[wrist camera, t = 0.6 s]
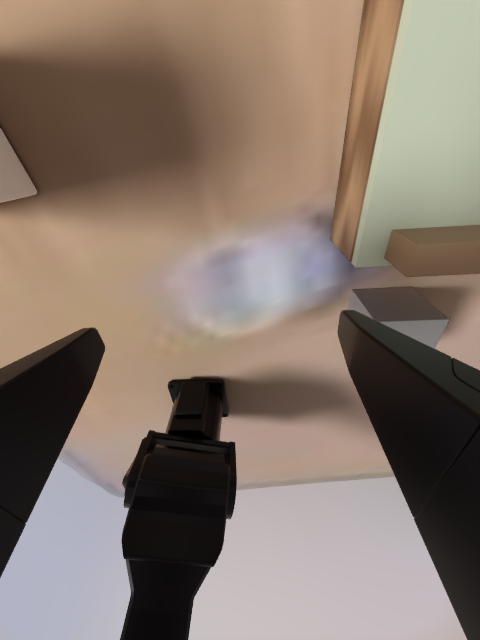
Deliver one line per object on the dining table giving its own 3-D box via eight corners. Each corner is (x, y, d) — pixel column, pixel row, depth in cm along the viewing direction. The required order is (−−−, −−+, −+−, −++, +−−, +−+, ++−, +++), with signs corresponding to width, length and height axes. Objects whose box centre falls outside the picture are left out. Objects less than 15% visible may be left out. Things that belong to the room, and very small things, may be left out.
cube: (394, 332, 24) (423, 370, 20) (341, 334, 25) (360, 371, 21) (410, 286, 22) (449, 319, 17) (351, 289, 22) (375, 322, 18)
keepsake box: (466, 231, 19) (519, 252, 15) (330, 239, 19) (349, 261, 16) (580, -26, 12) (730, -104, 8) (364, -4, 12) (413, -66, 9)
